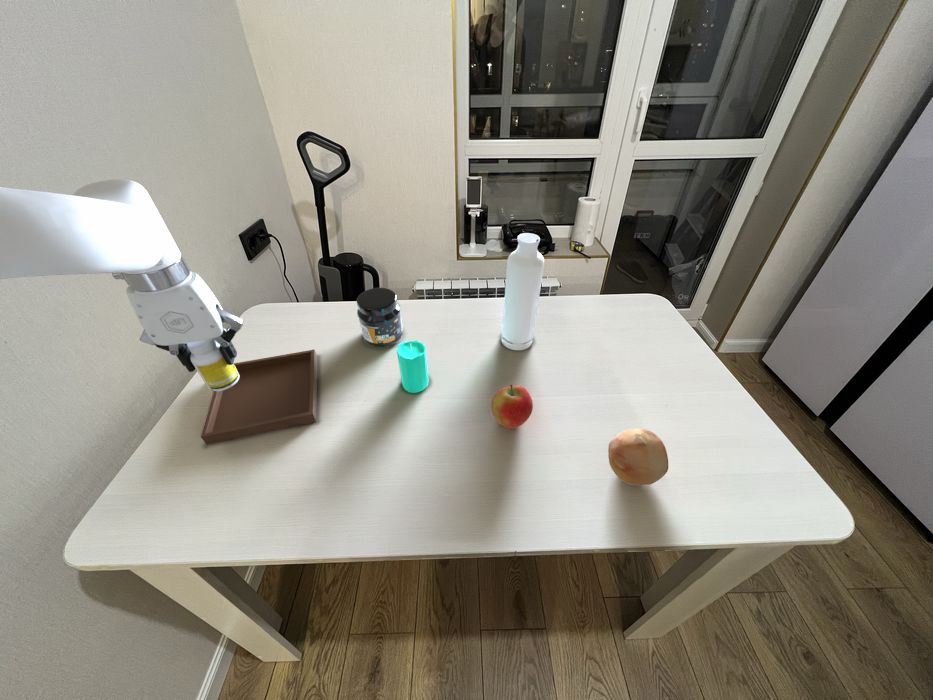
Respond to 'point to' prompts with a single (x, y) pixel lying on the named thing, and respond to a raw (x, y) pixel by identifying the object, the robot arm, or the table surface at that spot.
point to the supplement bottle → (212, 365)
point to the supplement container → (379, 317)
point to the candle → (413, 365)
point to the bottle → (522, 292)
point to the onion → (638, 456)
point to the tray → (264, 398)
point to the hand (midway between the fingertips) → (213, 362)
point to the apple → (512, 406)
